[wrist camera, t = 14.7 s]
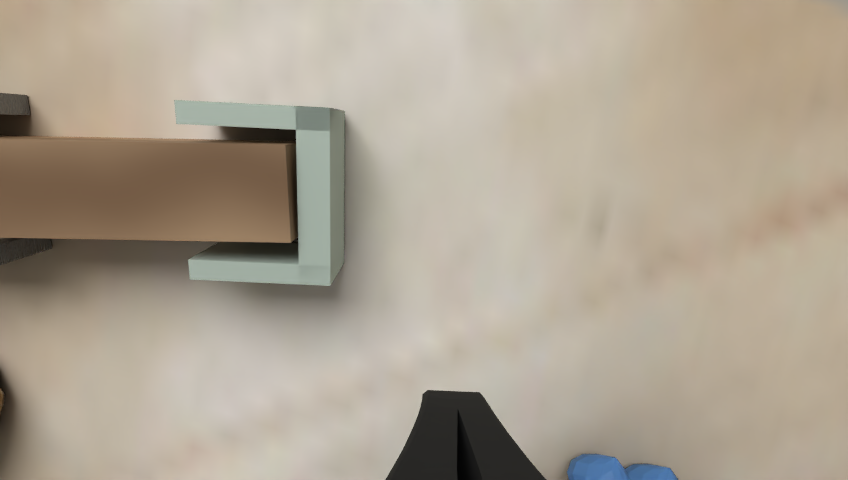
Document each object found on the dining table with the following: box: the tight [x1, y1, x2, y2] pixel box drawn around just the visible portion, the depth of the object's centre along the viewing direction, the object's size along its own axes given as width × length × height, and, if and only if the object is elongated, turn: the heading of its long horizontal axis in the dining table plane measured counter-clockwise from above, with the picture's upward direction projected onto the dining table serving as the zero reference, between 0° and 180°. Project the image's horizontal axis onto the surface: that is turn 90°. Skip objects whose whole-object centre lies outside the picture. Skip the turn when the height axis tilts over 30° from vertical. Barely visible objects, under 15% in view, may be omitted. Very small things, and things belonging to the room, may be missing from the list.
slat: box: [0, 136, 298, 243], centre depth 18 cm, size 4×14×4 cm, turn 89°
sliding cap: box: [174, 100, 345, 286], centre depth 18 cm, size 7×5×3 cm
